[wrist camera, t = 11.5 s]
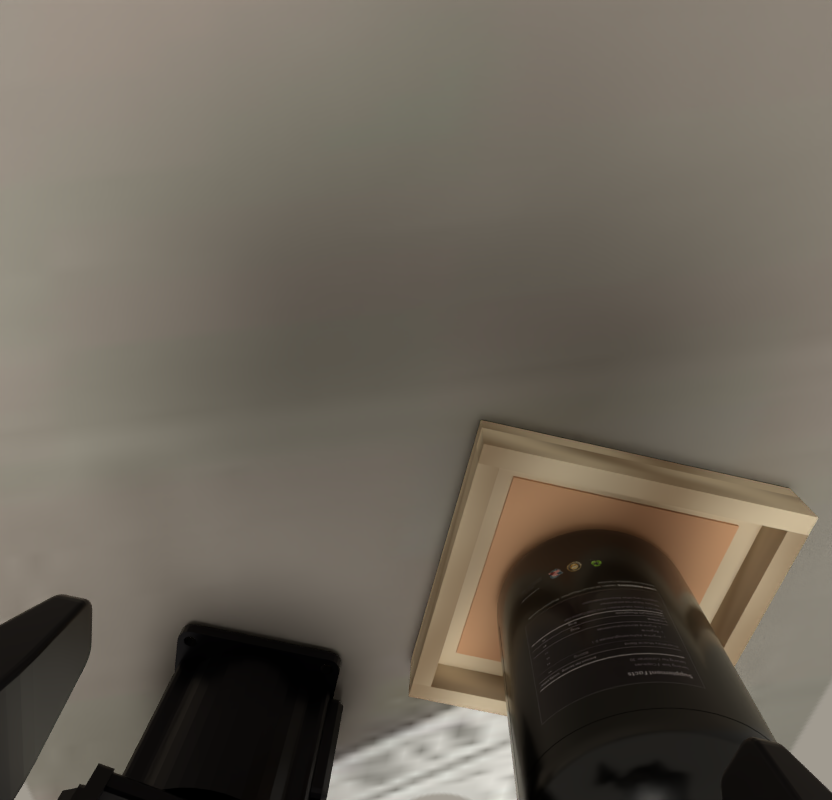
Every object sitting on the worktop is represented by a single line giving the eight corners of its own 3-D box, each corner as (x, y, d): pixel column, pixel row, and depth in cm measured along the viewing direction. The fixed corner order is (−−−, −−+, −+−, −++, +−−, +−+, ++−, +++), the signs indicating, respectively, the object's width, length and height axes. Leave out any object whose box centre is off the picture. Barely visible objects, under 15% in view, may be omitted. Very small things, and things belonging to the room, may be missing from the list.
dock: (411, 659, 25) (408, 696, 24) (480, 419, 21) (484, 443, 19) (670, 712, 26) (686, 751, 24) (789, 488, 22) (818, 517, 20)
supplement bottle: (702, 643, 23) (932, 1093, 12) (527, 687, 25) (595, 1133, 14) (658, 494, 21) (895, 886, 10) (468, 552, 22) (491, 957, 11)
